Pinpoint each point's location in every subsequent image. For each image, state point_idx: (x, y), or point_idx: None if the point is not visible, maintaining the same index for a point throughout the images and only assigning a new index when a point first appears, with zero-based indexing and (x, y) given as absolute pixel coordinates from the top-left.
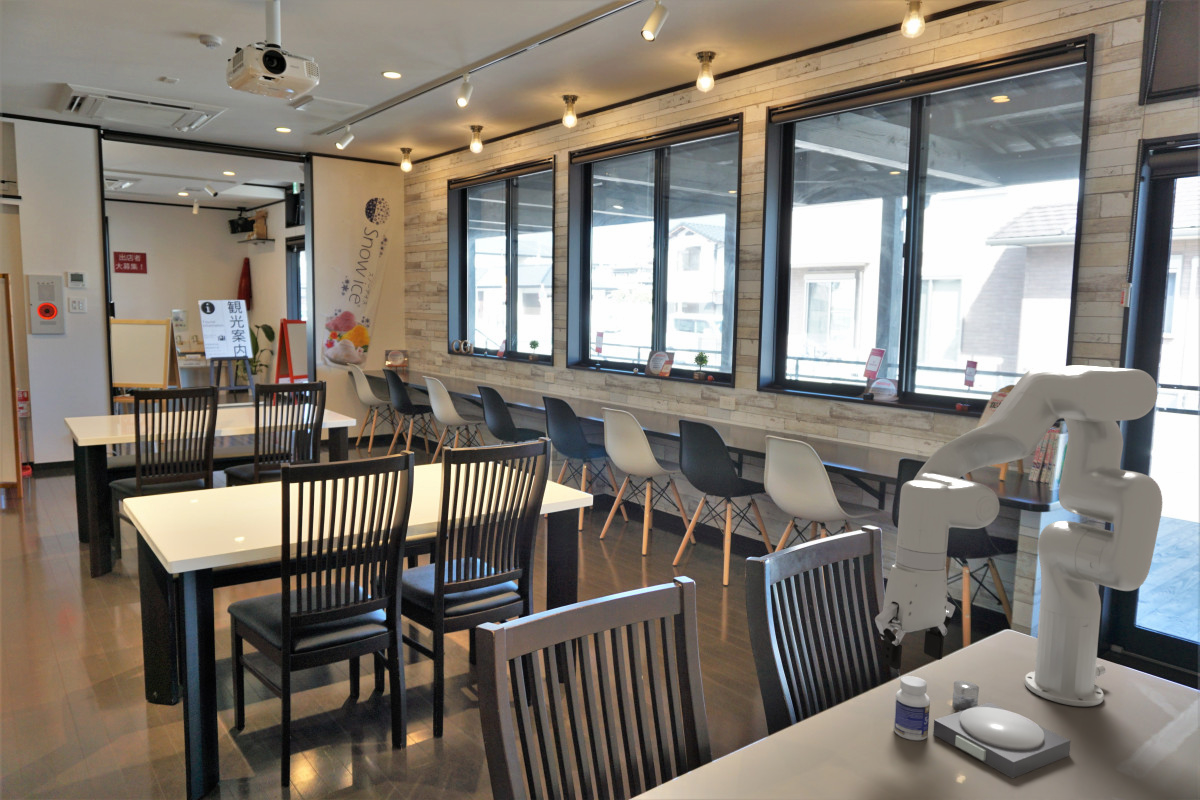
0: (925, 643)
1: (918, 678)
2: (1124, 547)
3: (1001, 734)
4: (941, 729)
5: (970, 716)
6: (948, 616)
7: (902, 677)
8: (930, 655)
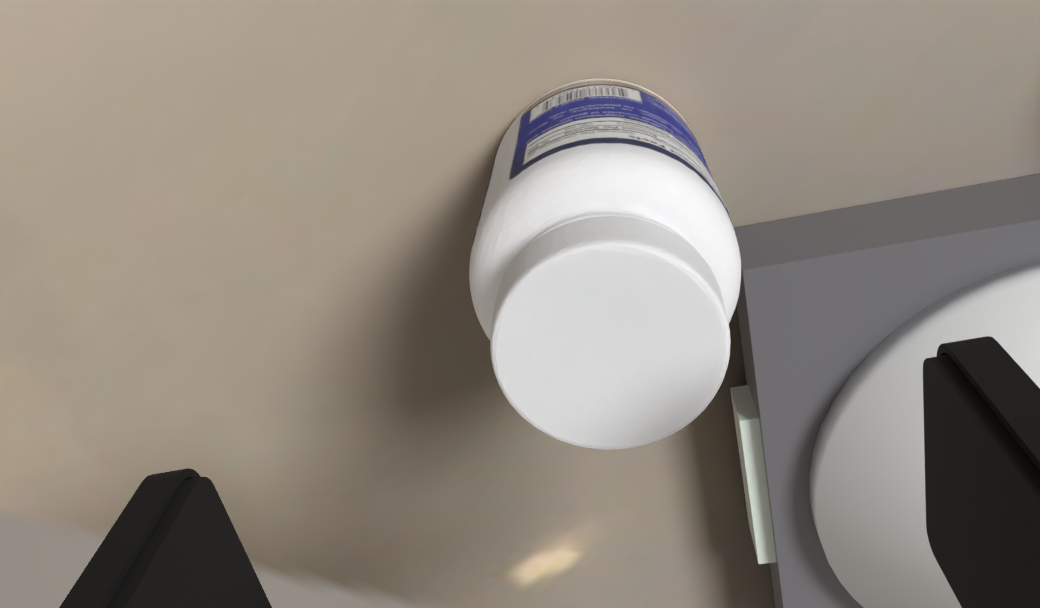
0: (983, 456)
1: (701, 318)
2: None
3: None
4: (743, 305)
5: None
6: None
7: (552, 264)
8: (928, 445)
